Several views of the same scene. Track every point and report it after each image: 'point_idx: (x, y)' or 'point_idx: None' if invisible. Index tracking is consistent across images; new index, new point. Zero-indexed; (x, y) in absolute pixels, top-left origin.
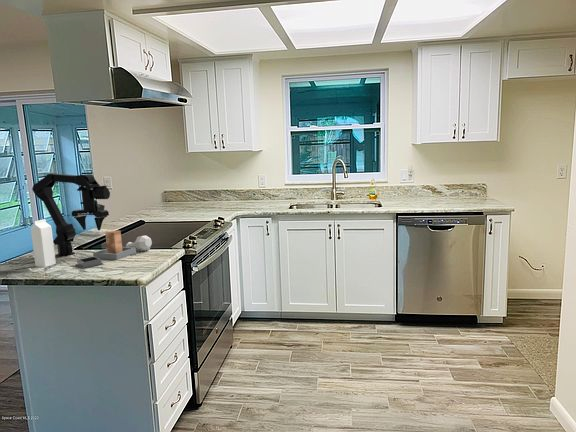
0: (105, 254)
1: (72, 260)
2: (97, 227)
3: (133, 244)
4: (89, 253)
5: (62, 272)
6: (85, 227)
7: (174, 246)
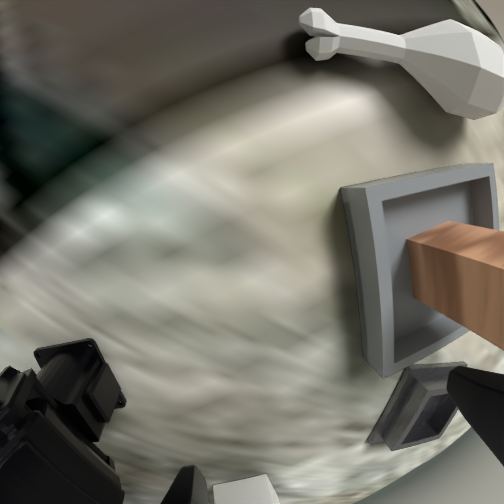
0: (449, 339)
1: (257, 421)
2: (476, 419)
3: (395, 58)
4: (177, 288)
5: (378, 468)
6: (196, 490)
7: (459, 3)
